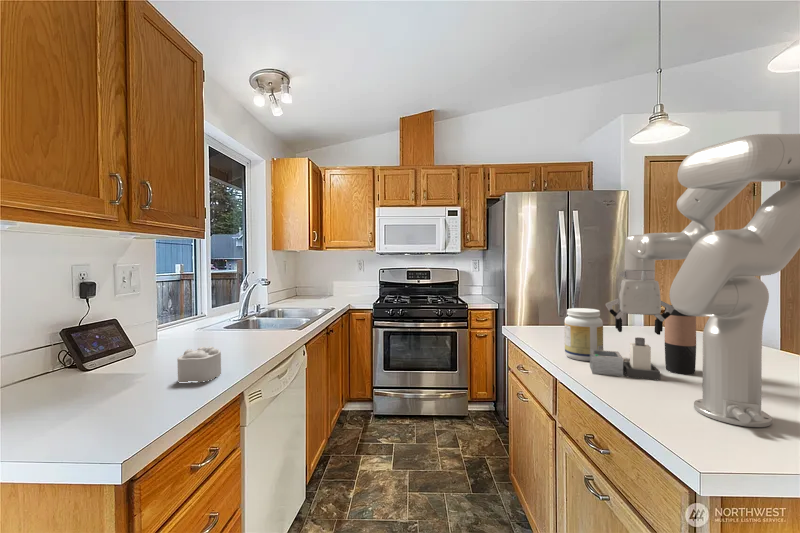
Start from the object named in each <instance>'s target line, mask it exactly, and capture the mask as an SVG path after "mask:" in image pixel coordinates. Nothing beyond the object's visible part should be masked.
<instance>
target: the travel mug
mask: <svg viewBox="0 0 800 533" xmlns="http://www.w3.org/2000/svg"><path fill="white" fill-rule="evenodd" d="M670 305H671V306H672V304H670ZM665 311H666V307H664V312H665ZM696 357H697V316H688V315H684V314H682V313H680V312H678V311H677V310H676V309H675V308H674V310H673V311H672V313H671V314H670V316H669V317H667V318H666V319H665V320H664V358H665V359H664V363H665V370H666V371H667V372H669V371H670V373H673V374H678V375H684V376H685V375H686V376H687V375H688V376H691V375H695V374H696V363H697V362H696V361H697V358H696Z"/></svg>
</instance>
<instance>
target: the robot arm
mask: <svg viewBox="0 0 800 533" xmlns="http://www.w3.org/2000/svg"><path fill="white" fill-rule="evenodd" d="M676 176H677V181H678V183H679V184H680V185H681V186H682V187H684V188H687V189H686V190H685V191H684V192H683V193H682V194H681V195H680V196H679V197H678V199H677V201H676V208H677V211H678V212H680V214H682V215H683V216H684V217H685V218H687V219H688V220H690V221H691V222H689V224H688V225H687V226H686V227H685V228H684V229H682V231H681V232H650V233H644V234H632V235H628V236H627V237H626V238H625V240H624V270H623V271H619V272H618V277H623V278H624V279H622V280H621V283H620V288H619V295H618V297H617V298H615V299H613V300H611V301H608V302H606V303H605V307H606V308H607V310H608V311H609V313H610V314H611V315H612V316H613V317H614V318H615V321H614V323H615V329H617V331H618V332H619V333H622V332H623V319H622V317H623V316H624V315H625V314H627V315H628V314H629V315H643V316H644V315H645V316H654V317H655V318H656V319H654V334H657V335H659V336H660V335H661V332H663V331H664V330H663V323H664V322H665V319H666V318H667V317H669V316H670V314H671V313H672V311H673V310H674V308H675V309H676V310H677V311H678V312H680V313H682V314H684V315H688V316H696V317H708V319H707V321H706V323H705V325H704V327H703V331H702V398H700V399H697V400H694V401H693V408H694V410H695V411H697V412H698V413H700V414H701V415H703V416H706V417H708V418H710V419H713V420H716V421H719V422H722V423H726V424H729V425H730V424H731V425H736V426H740V427H741V426H742V427H746V428H766V427H769V426H772V424H773V418H772V417H771V415H770V414H768V413H767V412H765V411H763V410H762V381H763V380H762V370H763V369H762V363H763V362H762V357H763V355H762V349H763V330H764V329H763V328H764V322H765V321H764V320H765V317H766V313H767V310H768V305H769V300H770V293H769V290H768V288H767V285H766V284H765V283H764V282H763V281H762V280H761V279H760V278H759V277H762V276H763V277H764V276H771V275H775V274H777V273H779V272H781V271H782V270H783V269H784V268H785V267H786V266H787V265H788V263H789V262H791V260H792V259H793V257H794V256H795V255H796V254H797V253H798V251H799V250H800V133H761V134H760V133H758V134H757V133H756V134H750V135H745V136H740V137H737V138H734V139H730V140H727V141H724V142H718V143H716V144H712V145H709V146H704V147H702V148H699V149H697V150H694V151H693V152H691V153H689V154H688V155H687V156H686V157H685V158H683V160H682V162H681V163H680V165H679V166H678V170H677V175H676ZM754 182H767V183H768V182H769V183H771V182H785V185H784V186H783V187H781V188H780V189H779V190H777V191H775V192H774V193H773V194H772V195H770V196H769V197H768V198H766V200H765V201H764V202H762V204H761V205H760V206H759V207H758V209H757V210H756V212H755V213H754V215H753V217H752V218H751V219H750V221H749V222H748V223H747V224H746V225H745V226H744V227H742V228H738V229H721V230H719V229H718V230H715V228H716V220H715V218H716V216H717V215H718V214H719V213H721V211H722V210H723V209H724V208H726V206H727V205H728V204H729V203H730V202H732V201H733V199H735V198H736V196H738V195H739V194H740V193H741V191H743V189H745V188H746V187H747V186H748V185H749V184H751V183H754ZM664 260H670V261H671V260H673V261H675V260H683V263H682V264H681V265H680V266H681V267H680V268H679V270H678V271H677V273H676V275H675V277H674V278H673V281H672V283H671V285H670V288H669V301H670V304H669V303H667V302H666V301H663V300H661V291H660V290H661V289H660V284H659V281H658V280H656V278H655V277H656V275H655V274H656V261H664ZM615 305H618V311H615V310H614V308H613V306H615ZM671 305H672V306H671ZM662 307H663V308H665V307H666V311H665V310H664V311H663V312H662V313H661V311H662Z"/></svg>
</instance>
